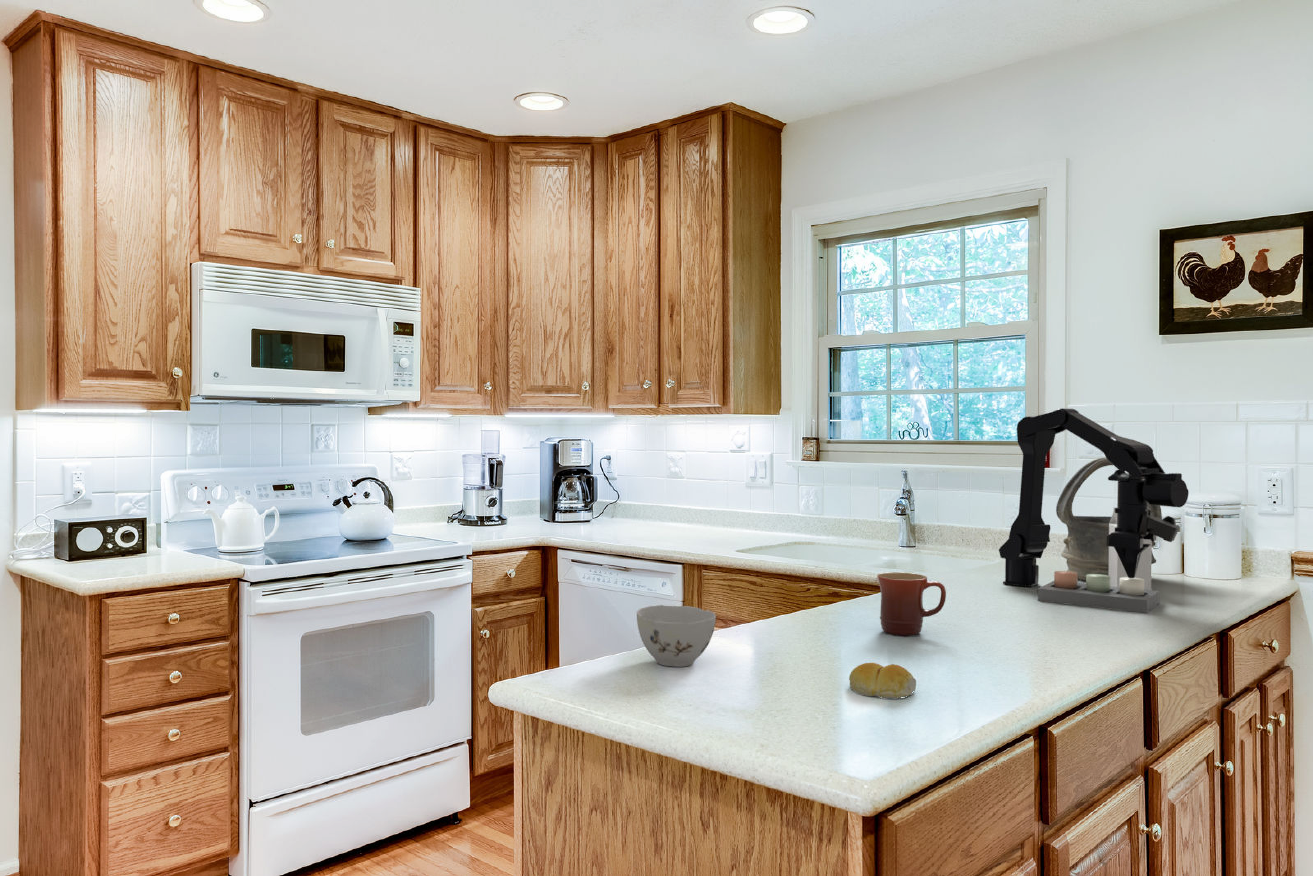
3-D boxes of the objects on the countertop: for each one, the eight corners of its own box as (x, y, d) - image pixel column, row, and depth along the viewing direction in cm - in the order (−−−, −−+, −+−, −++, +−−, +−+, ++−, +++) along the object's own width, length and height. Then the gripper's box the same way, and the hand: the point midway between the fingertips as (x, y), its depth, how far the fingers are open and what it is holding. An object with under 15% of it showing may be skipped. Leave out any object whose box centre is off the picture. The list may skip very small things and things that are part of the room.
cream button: (1117, 593, 193) (1117, 579, 192) (1121, 590, 196) (1122, 576, 196) (1141, 596, 190) (1141, 581, 190) (1146, 593, 193) (1146, 578, 193)
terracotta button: (1051, 586, 201) (1051, 572, 200) (1057, 583, 204) (1057, 570, 204) (1074, 589, 198) (1074, 575, 198) (1079, 586, 201) (1079, 572, 201)
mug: (874, 635, 164) (874, 578, 164) (878, 625, 172) (879, 571, 172) (944, 641, 160) (945, 582, 160) (946, 631, 168) (946, 574, 168)
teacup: (698, 677, 137) (698, 623, 136) (622, 667, 142) (622, 615, 141) (731, 654, 150) (732, 605, 150) (661, 646, 155) (661, 599, 155)
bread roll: (860, 680, 136) (860, 653, 136) (920, 690, 131) (921, 662, 131) (839, 694, 129) (839, 665, 129) (902, 705, 124) (902, 675, 124)
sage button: (1083, 590, 197) (1083, 576, 196) (1089, 587, 200) (1089, 573, 200) (1107, 592, 194) (1107, 578, 194) (1112, 589, 197) (1112, 575, 197)
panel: (1037, 600, 198) (1038, 588, 198) (1054, 592, 209) (1054, 580, 209) (1146, 613, 185) (1147, 600, 185) (1158, 603, 196) (1158, 591, 196)
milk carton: (1151, 594, 206) (1152, 509, 206) (1116, 593, 208) (1118, 508, 207) (1141, 589, 213) (1142, 507, 213) (1108, 587, 215) (1109, 506, 214)
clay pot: (1158, 589, 213) (1160, 459, 213) (1050, 579, 226) (1051, 457, 225) (1163, 576, 232) (1165, 457, 232) (1063, 568, 244) (1065, 454, 244)
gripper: (1168, 509, 180) (1167, 588, 181) (1183, 502, 195) (1182, 576, 195) (1106, 505, 187) (1105, 582, 188) (1125, 499, 202) (1124, 571, 202)
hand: (1131, 577), depth 193 cm, fingers closed
